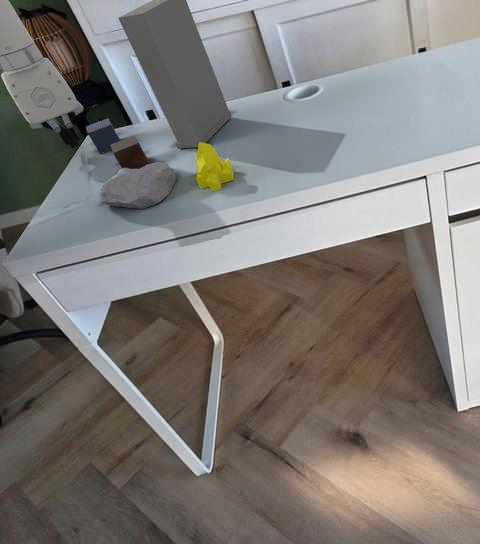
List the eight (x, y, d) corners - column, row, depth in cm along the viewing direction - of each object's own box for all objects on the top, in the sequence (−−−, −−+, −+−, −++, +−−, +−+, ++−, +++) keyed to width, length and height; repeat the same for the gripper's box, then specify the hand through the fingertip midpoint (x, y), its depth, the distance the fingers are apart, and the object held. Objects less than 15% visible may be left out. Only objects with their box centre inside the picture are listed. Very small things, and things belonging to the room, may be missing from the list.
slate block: (100, 154, 106) (87, 133, 103) (98, 147, 110) (85, 126, 107) (122, 145, 108) (110, 124, 105) (119, 138, 111) (108, 118, 108)
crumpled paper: (233, 165, 89) (217, 125, 84) (233, 185, 83) (215, 144, 78) (202, 173, 89) (184, 134, 84) (200, 195, 83) (180, 154, 78)
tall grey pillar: (209, 119, 110) (157, -4, 94) (232, 117, 108) (183, -9, 92) (177, 149, 100) (113, 18, 84) (202, 148, 98) (142, 13, 82)
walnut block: (126, 175, 95) (112, 152, 92) (122, 167, 99) (109, 144, 95) (151, 165, 96) (138, 142, 93) (146, 157, 100) (134, 135, 97)
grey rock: (165, 214, 84) (181, 174, 90) (149, 194, 80) (167, 154, 86) (107, 222, 87) (126, 183, 93) (88, 204, 83) (110, 164, 89)
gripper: (-23, 76, 89) (40, 165, 101) (60, 49, 93) (111, 137, 105) (-20, 68, 94) (40, 153, 106) (58, 42, 98) (107, 127, 110)
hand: (75, 145), depth 106 cm, fingers closed
